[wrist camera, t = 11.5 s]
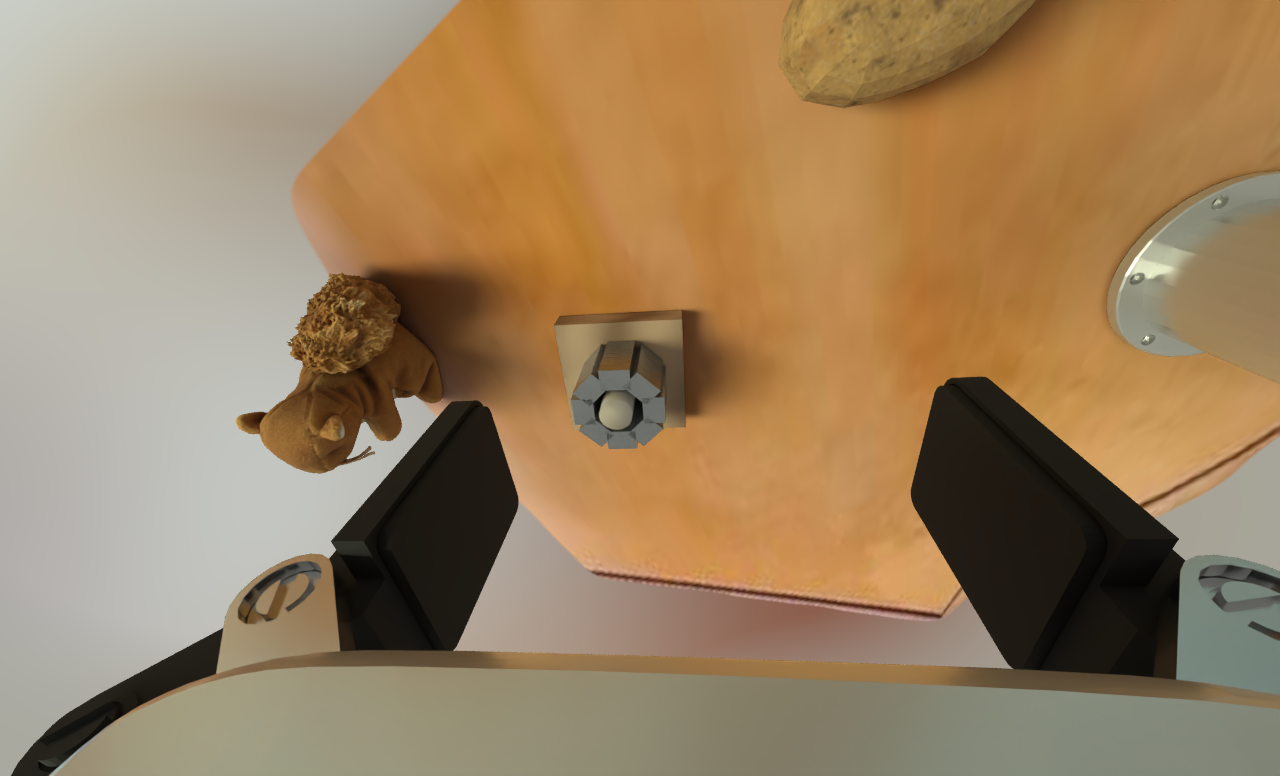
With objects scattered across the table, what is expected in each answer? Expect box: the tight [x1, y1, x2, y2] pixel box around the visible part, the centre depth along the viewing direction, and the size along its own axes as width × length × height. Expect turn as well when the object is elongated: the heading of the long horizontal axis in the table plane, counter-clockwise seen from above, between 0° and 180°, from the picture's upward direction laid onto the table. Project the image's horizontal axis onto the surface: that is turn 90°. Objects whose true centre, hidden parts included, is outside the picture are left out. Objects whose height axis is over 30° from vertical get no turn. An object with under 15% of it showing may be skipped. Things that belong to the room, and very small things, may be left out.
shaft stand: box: [554, 310, 686, 430], centre depth 36 cm, size 10×10×8 cm
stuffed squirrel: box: [236, 273, 443, 473], centre depth 34 cm, size 10×14×13 cm
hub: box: [571, 340, 667, 449], centre depth 35 cm, size 7×7×5 cm
